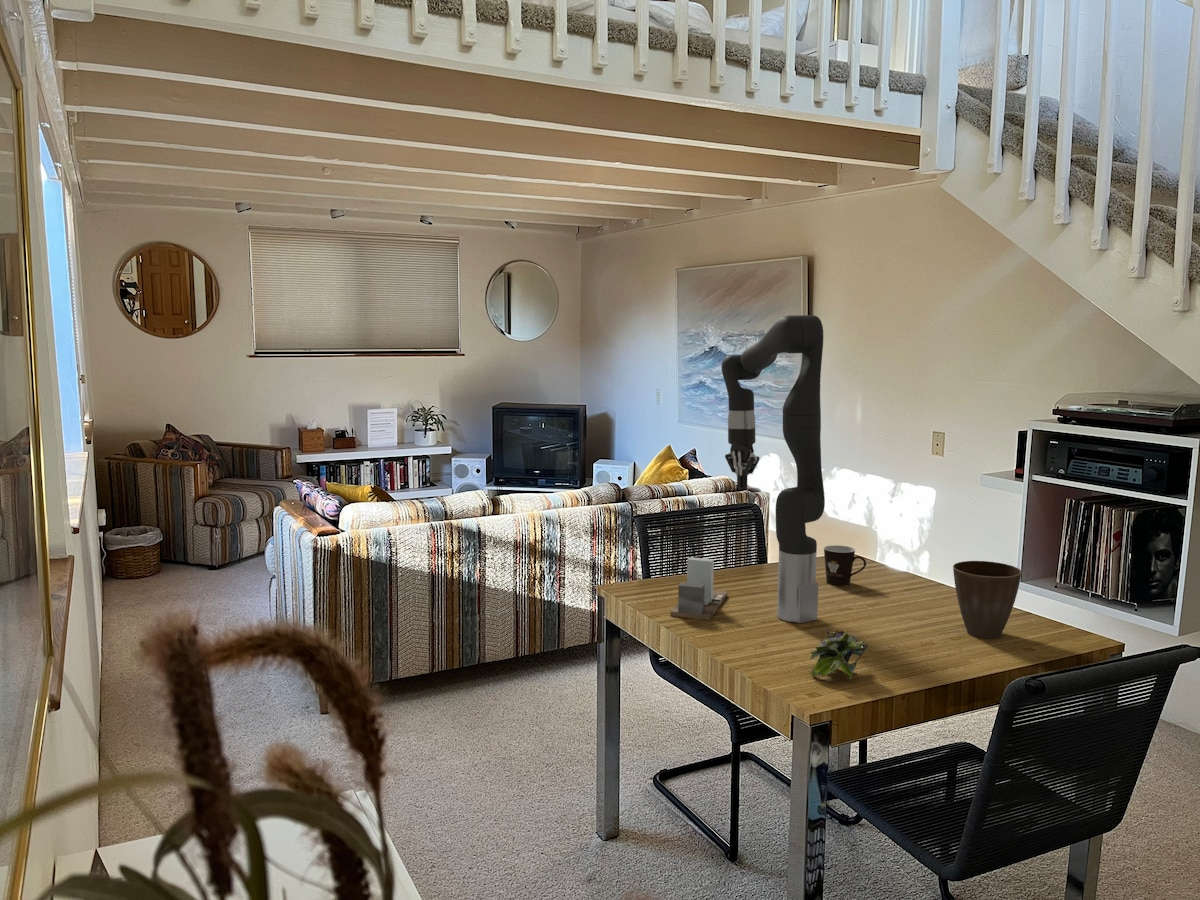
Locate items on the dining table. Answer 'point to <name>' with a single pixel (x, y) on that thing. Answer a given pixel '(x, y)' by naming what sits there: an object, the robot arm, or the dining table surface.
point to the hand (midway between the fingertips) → (742, 488)
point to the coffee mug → (840, 564)
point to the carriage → (702, 575)
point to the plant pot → (986, 595)
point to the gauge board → (706, 608)
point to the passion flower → (837, 653)
